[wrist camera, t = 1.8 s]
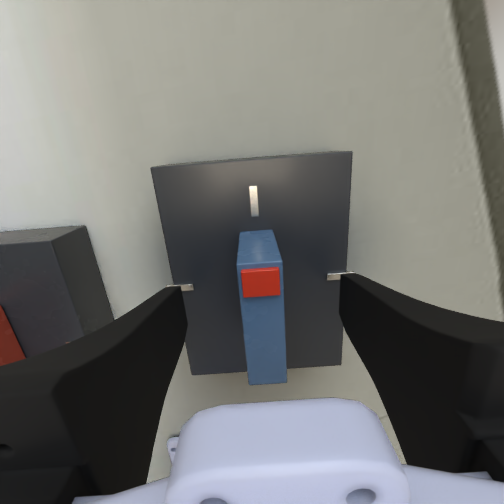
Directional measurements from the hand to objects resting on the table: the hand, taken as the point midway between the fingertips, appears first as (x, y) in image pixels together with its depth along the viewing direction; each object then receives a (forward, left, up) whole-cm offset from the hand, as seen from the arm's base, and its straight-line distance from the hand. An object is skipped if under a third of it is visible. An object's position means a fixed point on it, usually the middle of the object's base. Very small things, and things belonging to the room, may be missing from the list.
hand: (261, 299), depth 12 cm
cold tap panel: (0, 0, -5) cm, 5 cm away
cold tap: (0, 0, -2) cm, 2 cm away
